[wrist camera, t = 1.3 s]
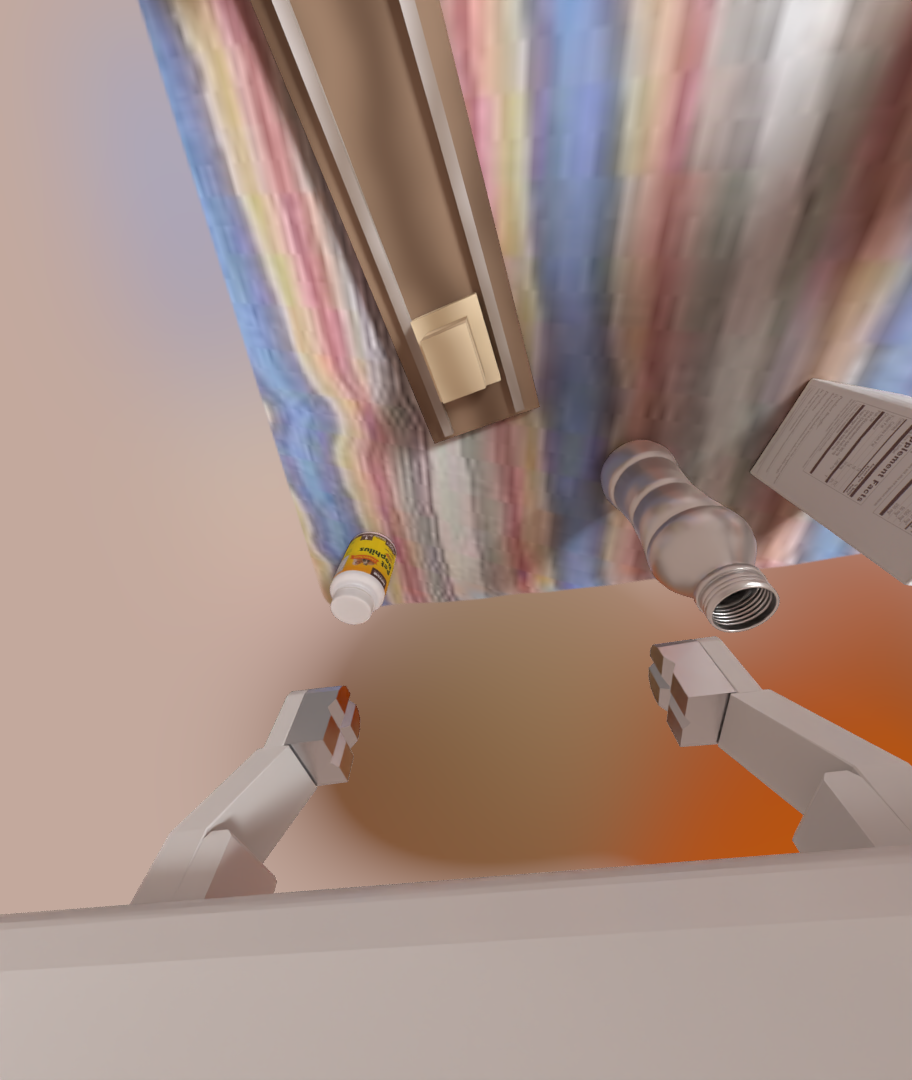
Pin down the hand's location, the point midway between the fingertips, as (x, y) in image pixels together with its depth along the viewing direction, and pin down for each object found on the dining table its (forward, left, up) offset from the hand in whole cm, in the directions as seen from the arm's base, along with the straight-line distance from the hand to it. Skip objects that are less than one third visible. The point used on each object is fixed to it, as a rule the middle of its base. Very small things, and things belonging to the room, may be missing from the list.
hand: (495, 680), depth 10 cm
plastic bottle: (-11, +11, -30) cm, 34 cm away
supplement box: (-28, +14, -30) cm, 44 cm away
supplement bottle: (+18, +12, -30) cm, 37 cm away
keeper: (+1, -5, -28) cm, 29 cm away
